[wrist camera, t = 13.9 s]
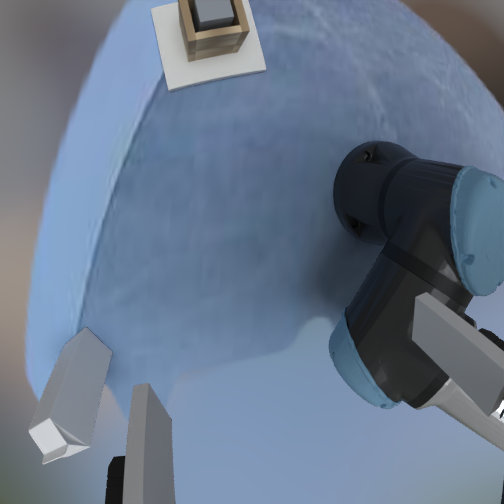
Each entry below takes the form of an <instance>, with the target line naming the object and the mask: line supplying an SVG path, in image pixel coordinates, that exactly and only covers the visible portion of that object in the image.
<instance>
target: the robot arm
mask: <svg viewBox="0 0 504 504" xmlns="http://www.w3.org/2000/svg"><path fill="white" fill-rule="evenodd" d="M334 204H335V209H336V212H337V215H338V217H339V219H340V221H341V223H342V224H343V226H344V227H345V228H346V229H347V230H348V231H349V232H350V233H351V234H353V235H354V236H356V237H357V238H359V239H361V240H362V241H365V242H367V243H371V244H377V245H385V246H384V248H383V250H382V251H381V253H380V255H379V256H378V258H377V260H376V262H375V263H374V265H373V267H372V268H371V270H370V272H369V274H368V275H367V277H366V279H365V280H364V282H363V284H362V285H361V287H360V289H359V290H358V292H357V294H356V295H355V297H354V298H353V300H352V302H351V303H350V305H349V306H348V307H347V308H345V309H344V311H343V313H342V317H341V319H340V321H339V322H338V324H337V326H336V327H335V329H334V331H333V332H332V334H331V336H330V340H329V353H330V356H331V359H332V360H333V362H334V366H335V368H336V369H337V371H338V373H339V374H340V376H341V377H342V378H343V380H344V381H345V382H346V383H347V384H348V386H349V387H351V389H352V390H353V391H355V393H357V394H358V395H359V396H360V397H361V398H363V399H364V400H366V401H367V402H368V403H370V404H372V405H374V406H380V407H381V408H383V409H391V408H393V407H394V406H397V405H398V404H400V402H401V401H404V402H406V403H407V404H409V405H410V406H411V407H413V408H415V409H417V410H419V409H422V408H426V407H429V406H436V407H438V408H439V409H441V410H442V411H444V412H445V413H447V414H448V415H450V416H451V417H453V418H454V419H456V420H457V421H459V422H460V423H462V424H463V425H465V426H466V427H468V428H469V429H471V430H472V431H474V432H475V433H477V434H478V435H480V436H481V437H483V438H484V439H486V440H487V441H489V442H490V443H492V444H493V445H495V446H496V447H498V448H500V449H501V450H503V451H504V341H503V340H501V339H499V338H498V336H496V335H495V334H494V333H492V332H491V331H488V330H486V329H483V328H481V329H480V330H477V326H476V322H475V321H474V320H473V319H472V318H470V317H469V316H467V315H466V314H465V313H464V312H465V310H466V308H467V306H468V304H469V303H470V301H471V299H472V297H473V296H474V295H475V296H487V295H489V294H491V293H493V292H494V291H495V290H496V288H497V286H499V285H501V284H502V282H503V281H504V181H503V180H502V179H501V178H499V177H498V176H496V175H494V174H491V173H488V172H485V171H482V170H479V169H477V168H476V167H473V166H461V165H455V164H450V163H444V162H438V161H432V160H426V159H419V158H418V157H416V156H415V155H413V154H412V153H411V152H409V151H408V150H406V149H405V148H403V147H402V146H400V145H397V144H395V143H391V142H383V141H372V142H367V143H364V144H362V145H360V146H358V147H357V148H355V149H354V150H353V151H352V152H350V153H349V155H348V156H347V157H346V158H345V159H344V161H343V162H342V164H341V166H340V168H339V170H338V173H337V176H336V179H335V184H334ZM107 478H108V480H107V488H106V498H105V504H176V503H175V490H174V474H173V453H172V419H171V418H170V417H169V415H168V413H167V412H166V410H165V408H164V407H163V405H162V404H161V402H160V401H159V399H158V397H157V396H156V394H155V392H154V391H153V389H152V388H151V386H150V384H149V383H145V384H140V385H135V386H133V393H132V401H131V409H130V417H129V426H128V435H127V445H126V456H118V457H114V458H113V459H112V461H111V463H110V465H109V467H108V475H107ZM501 504H504V483H503V493H502V499H501Z"/></svg>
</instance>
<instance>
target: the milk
mask: <svg viewBox="0 0 504 504" xmlns="http://www.w3.org/2000/svg"><path fill="white" fill-rule="evenodd" d="M111 356H112V351H111V350H110V349H109V348H108V347H107V346H106V345H105V344H104V343H102V342H101V341H100V340H99V339H98V338H97V337H96V336H95V335H94V334H93V333H92V332H91V331H90V330H89V329H88V328H87V327H85V328H84V329H83V330H81V331H80V332H79V333H78V334H77V335H75V336H74V337H73V338H72V339H71V340H69V341H68V342H67V343H66V344H65V345H64V347H63V350H62V352H61V354H60V356H59V358H58V360H57V362H56V364H55V367H54V369H53V371H52V373H51V376H50V378H49V380H48V382H47V385H46V387H45V389H44V392H43V394H42V397H41V399H40V402H39V404H38V407H37V409H36V412H35V414H34V417H33V420H32V422H31V425H30V428H29V433H30V435H31V436H32V438H33V439H34V441H35V442H36V444H37V445H38V447H39V448H40V450H41V451H42V452H43V454H44V457H43V461H42V464H45V463H48V462H50V461H53V460H55V459H57V458H60V457H68V456H70V455H73V454H75V453H77V452H80V451H82V450H84V449H86V448H89V447H91V442H92V437H93V432H94V426H95V422H96V417H97V412H98V408H99V404H100V399H101V395H102V391H103V387H104V383H105V379H106V375H107V371H108V367H109V363H110V360H111Z"/></svg>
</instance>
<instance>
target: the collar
mask: <svg viewBox="0 0 504 504" xmlns="http://www.w3.org/2000/svg"><path fill="white" fill-rule="evenodd" d="M230 3H231V7H232V10H233V14H234V18H233V21H232V23H231V26H230V27H224V28H218V29H213V30H207V31H202V32H197V33H195V30H194V26H193V6H194V0H178V12H179V23H180V28H181V32H182V37H183V41H184V45H185V50H186V54H187V59H188V62H192V61H196V60H200V59H205V58H210V57H215V56H220V55H225V54H231V53H237V52H238V51H239V49H240V47H241V46H242V44H243V42H244V40H245V39H246V37H247V35H248V33H249V32H250V28H249V25H248V21H247V17H246V14H245V10H244V7H243V3H242V0H230Z"/></svg>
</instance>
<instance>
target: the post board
mask: <svg viewBox="0 0 504 504" xmlns="http://www.w3.org/2000/svg"><path fill="white" fill-rule="evenodd" d="M242 3H243V7H244V10H245V14H246V17H247V21H248V25H249V28H250V32H249V33H248V35H247V37H246V39H245V40H244V42H243V44H242V46H241V47H240V49H239V51H238V52H237V53H231V54H225V55H220V56H215V57H210V58H205V59H200V60H196V61H192V62H188V59H187V54H186V50H185V45H184V41H183V37H182V32H181V28H180V23H179V12H178V2H175V3H171V4H167V5H163V6H159V7H155V8H151V11H152V16H153V21H154V26H155V31H156V36H157V40H158V45H159V50H160V55H161V59H162V64H163V68H164V73H165V77H166V82H167V86H168V90H169V92H171V91H175V90H179V89H183V88H186V87H190V86H194V85H199V84H203V83H207V82H212V81H217V80H221V79H226V78H231V77H237V76H242V75H248V74H254V73H260V72H264V71H265V70H266V65H265V61H264V57H263V53H262V49H261V46H260V42H259V38H258V34H257V30H256V27H255V23H254V19H253V16H252V12H251V9H250V5H249V2H248V0H242ZM233 18H234V14H233V10H232V7H231V3H230V0H194V6H193V26H194V30H195V33H197V32H202V31H207V30H213V29H218V28H224V27H230V26H231V23H232V21H233Z"/></svg>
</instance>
